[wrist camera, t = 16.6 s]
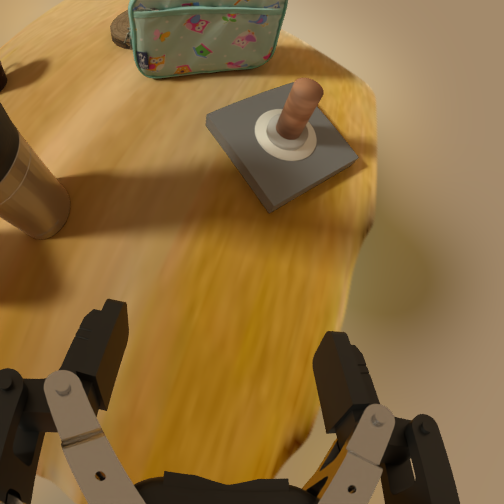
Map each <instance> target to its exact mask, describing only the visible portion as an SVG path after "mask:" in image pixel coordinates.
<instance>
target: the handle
mask: <svg viewBox="0 0 504 504" xmlns="http://www.w3.org/2000/svg"><path fill="white" fill-rule="evenodd" d="M322 96H323V89H322V87H321V86H320V84H318V83H317V82H316V81H314V80H312V79H309V78H299V79H297V80H295V82H294V84H293V86H292V89H291V91H290V93H289V96H288V98H287V100H286V103H285V105H284V107H283V110H282V112H281V114H277V115H275V116H273V117H272V118H271V119H270V120H269V123H268V125H267V129H266V133H267V136H268V138H269V140H270V141H271V142H272V143H273V144H274V145H275V146H276V147H278V148H280V149H283V150H288V151H293V150H297V149H299V148H301V147H302V146H303V145H304V143H305V142H306V140H307V138H308V129H307V126H306V124H307V122H308V121H309V119H310V117H311V115H312V114H313V112H314V110H315V108H316V107H317V105H318V103H319V101H320V100H321V98H322Z"/></svg>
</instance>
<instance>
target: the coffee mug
mask: <svg viewBox="0 0 504 504" xmlns="http://www.w3.org/2000/svg"><path fill="white" fill-rule="evenodd" d="M6 83H7V78H6V75H5V73H4V70H3V67H2V64H1V61H0V91H1V90H2V89H3V88H4V87H5V85H6Z"/></svg>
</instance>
